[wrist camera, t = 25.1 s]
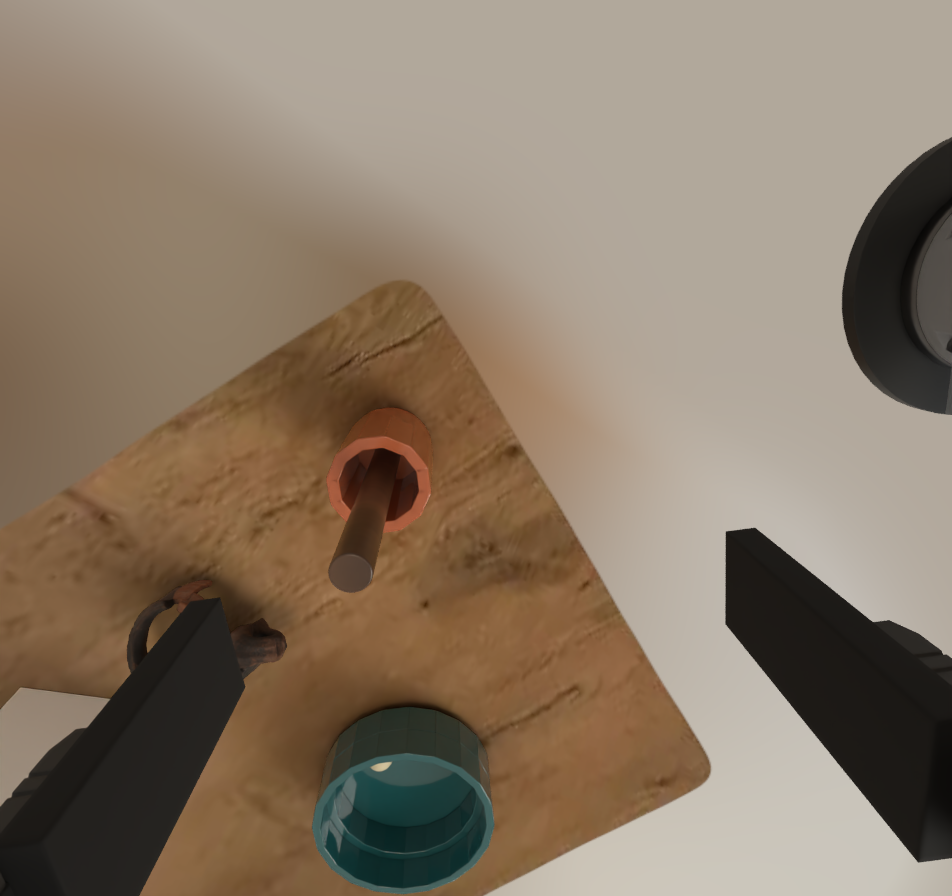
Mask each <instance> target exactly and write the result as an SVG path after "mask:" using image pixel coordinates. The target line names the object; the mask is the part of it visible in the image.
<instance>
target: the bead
mask: <svg viewBox="0 0 952 896" xmlns="http://www.w3.org/2000/svg"><path fill="white" fill-rule="evenodd" d="M391 763H392V762H387V763H379V764H376V765H374V766H372V767H370V768H371V769H373V770H374V771H384V770H386V769H387V768H388V767H389V766H390V765H391Z"/></svg>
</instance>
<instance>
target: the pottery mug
mask: <svg viewBox="0 0 952 896" xmlns="http://www.w3.org/2000/svg"><path fill="white" fill-rule="evenodd" d="M211 585H212V581H210V580H198V581H196V582H190V583H188V584H186V585H184V586H178V587H176V588H175V589H173V590H172V591H171V592H169V593H168V594H167V595H165V596H164V597H163V598H162V599H160V600H158V601H156V602H154V603H153V604H151V605H150V606H149V607H147V608H146V609H145V610H143V612H142V613H141V614H140V615H139V616H138V618H137V620H136V621H135V623H134V627H133V628H132V630H131V632H130V635H129V641H128V645H127V661H128V666H129V669H130V672H131V673H132V672H133V671H134V670H135V668H136V667H137V666H138V665H139V664H140V662H141V661H142V660H143V659H144V657H145V656H146V655H147V654H148V653H147V647H146V643H147V637H148V631H149V627H150V625H151V623H152V621H153V619H154V618H155V617H156V616H157V615H158V614H159V613H161V612H162V611H164V610H167V609H169V608H171V607H172V606H173V605H174V604H178V607H177V611H178V612H180V613H181V612H182V611H183V610H184V609H185V607H186V606H187V605H188V604H189V602H190V601H197V600H204V599H203V598H202V597H201V596H200V595H198V594H197V593H198V592H199V591H201V590H202V589H204V588H207V587H210V586H211ZM230 634H231V638H232V641H233V645H234V649H235V652H236V656H237V659H238V663H239V666H240V670H241V674H242V677H243V679H244V678H245V677H246V676H248V675H249V674H250V673H251V672H252V671H254V670H255V669H256V668H257V667H258V666H259V665H260V664H261V663H267V662H275V661H278V660H279V659H281V657H282V656H283V654H284V652H285V650H286V648H287V644H286V639H285V636H284V635H283V634H282V633H281V632H280V631H277V630H274V629H271V628H270V627H269V626H268V624H267V622H266V621H265V620H264V619H263V618H261V619H260V620H258V621H256V622H255V623H253V624H247V625H242V626H239V627H237V628H236V629H235V630H233V631H232V632H231V633H230Z"/></svg>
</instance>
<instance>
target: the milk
mask: <svg viewBox="0 0 952 896" xmlns="http://www.w3.org/2000/svg"><path fill="white" fill-rule="evenodd" d="M109 700H110V699H107V698H99V697H92V696H84V695H76V694H68V693H61V692H53V691H45V690H38V689H30V688H22V687H20V688H19V690H18V691H17V692H16V693H15V694H14V695H13V696H12V697H11V698H10V699H9V700H8V702H7V703H6V704H5V705H4V706H3V707H2V708H1V709H0V806H1V805H2V804H3V803H4V802H5V800H6V799H7V798H11V797H12V792H13V791H14V790H15V789H16V788H17V786H18V785H19V784H20V783H21V782H22V781H23V780H24V778H28V776H29V773H30V771H31V770H32V769H33V768H34V767H35V766H36V764H37V763H38V762H39V761H40V760H41V759H42V757H43V756H44V755H45V754H46V753H47V752H48V750H50V749H51V748H52V747H54V746H55V745H56V744H57V743H59V742H60V741H61V740H63V739H64V738H65V737H66V736H68V735H69V734H70V733H71V732H73V731H74V730H75V729H80V728H87V727H88V726H89V725H90V723H91V722H92V721H93V720H94V718H95V717H96V716H97V715H98V714H99V712H100V711H101V710H102V709H103V707H104V706H105V705H106V704H107V703H108V701H109Z"/></svg>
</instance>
